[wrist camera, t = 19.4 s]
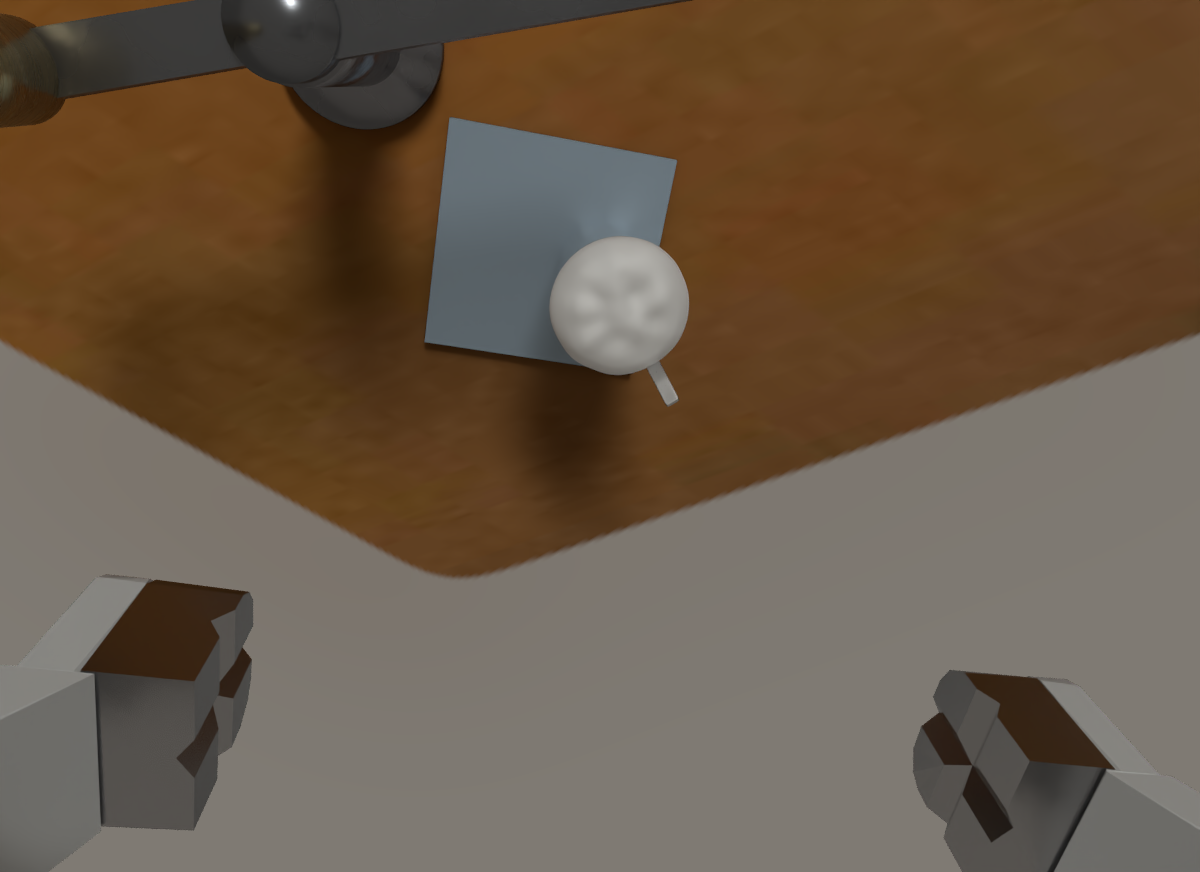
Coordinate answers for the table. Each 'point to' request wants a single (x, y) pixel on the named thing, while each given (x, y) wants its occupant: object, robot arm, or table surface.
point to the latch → (245, 41)
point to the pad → (526, 229)
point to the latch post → (375, 87)
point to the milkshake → (618, 303)
